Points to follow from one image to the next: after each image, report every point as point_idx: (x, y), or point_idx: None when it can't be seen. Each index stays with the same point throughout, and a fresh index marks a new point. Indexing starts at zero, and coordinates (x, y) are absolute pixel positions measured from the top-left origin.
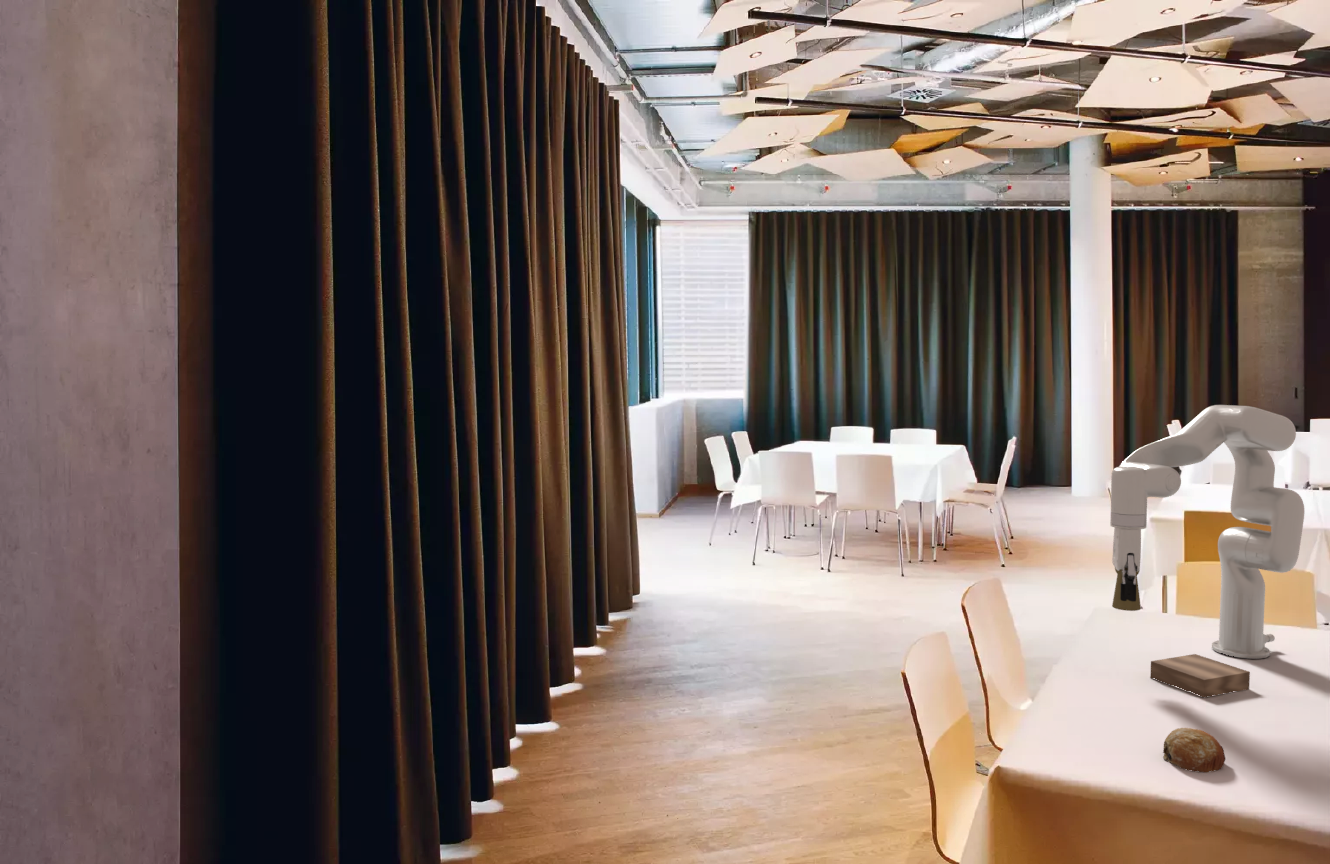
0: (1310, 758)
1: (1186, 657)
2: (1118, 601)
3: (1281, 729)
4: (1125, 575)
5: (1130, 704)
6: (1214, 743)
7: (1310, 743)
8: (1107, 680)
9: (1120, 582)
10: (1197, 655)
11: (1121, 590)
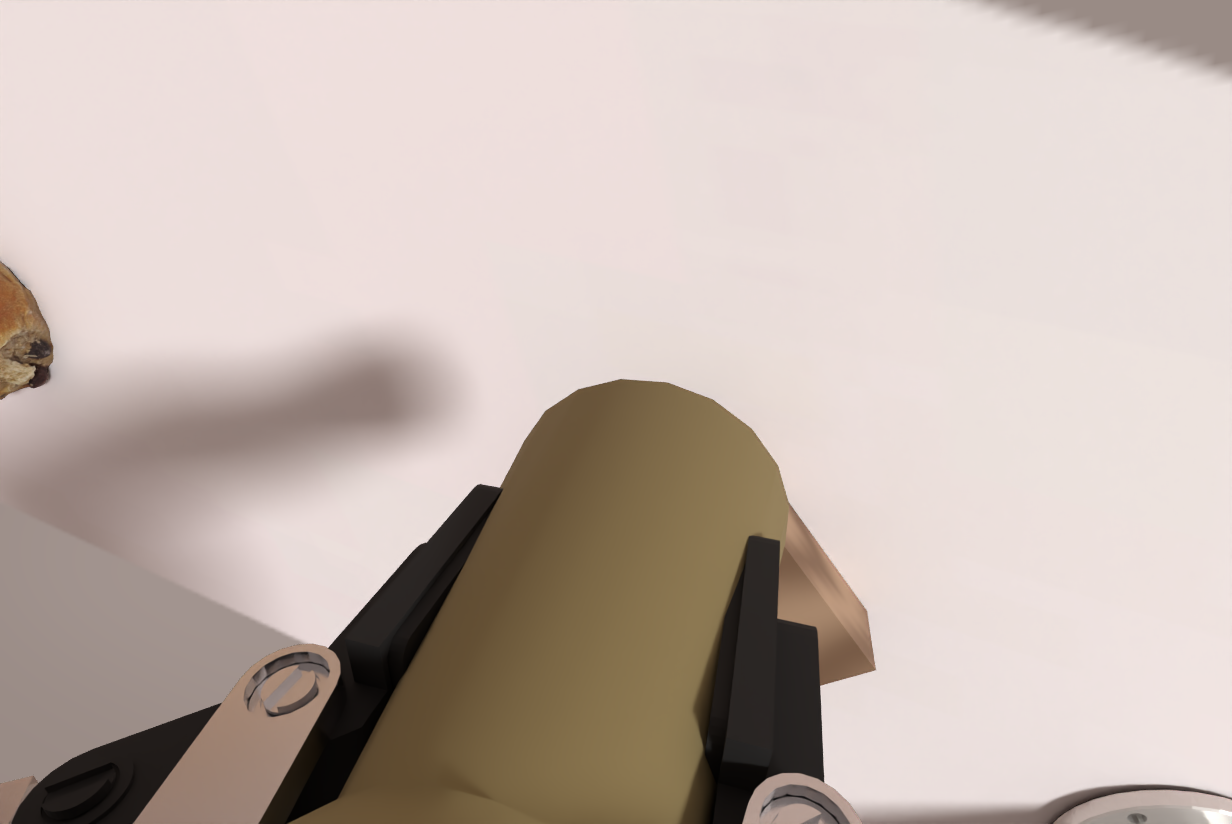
0: (184, 575)
1: (810, 617)
2: (529, 455)
3: (337, 602)
4: (50, 811)
5: (349, 240)
6: None
7: (275, 617)
8: (640, 201)
9: (425, 660)
10: (850, 669)
11: (413, 565)
